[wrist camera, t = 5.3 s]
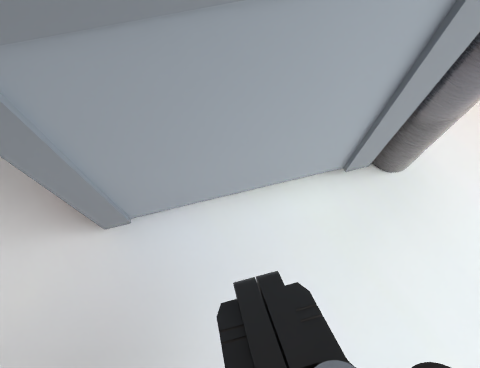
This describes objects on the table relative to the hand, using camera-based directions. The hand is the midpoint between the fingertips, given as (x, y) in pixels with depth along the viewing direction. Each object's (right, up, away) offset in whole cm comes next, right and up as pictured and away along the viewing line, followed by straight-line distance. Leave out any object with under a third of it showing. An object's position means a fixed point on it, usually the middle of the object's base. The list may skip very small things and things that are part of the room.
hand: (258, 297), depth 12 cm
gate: (-1, +4, +11) cm, 11 cm away
